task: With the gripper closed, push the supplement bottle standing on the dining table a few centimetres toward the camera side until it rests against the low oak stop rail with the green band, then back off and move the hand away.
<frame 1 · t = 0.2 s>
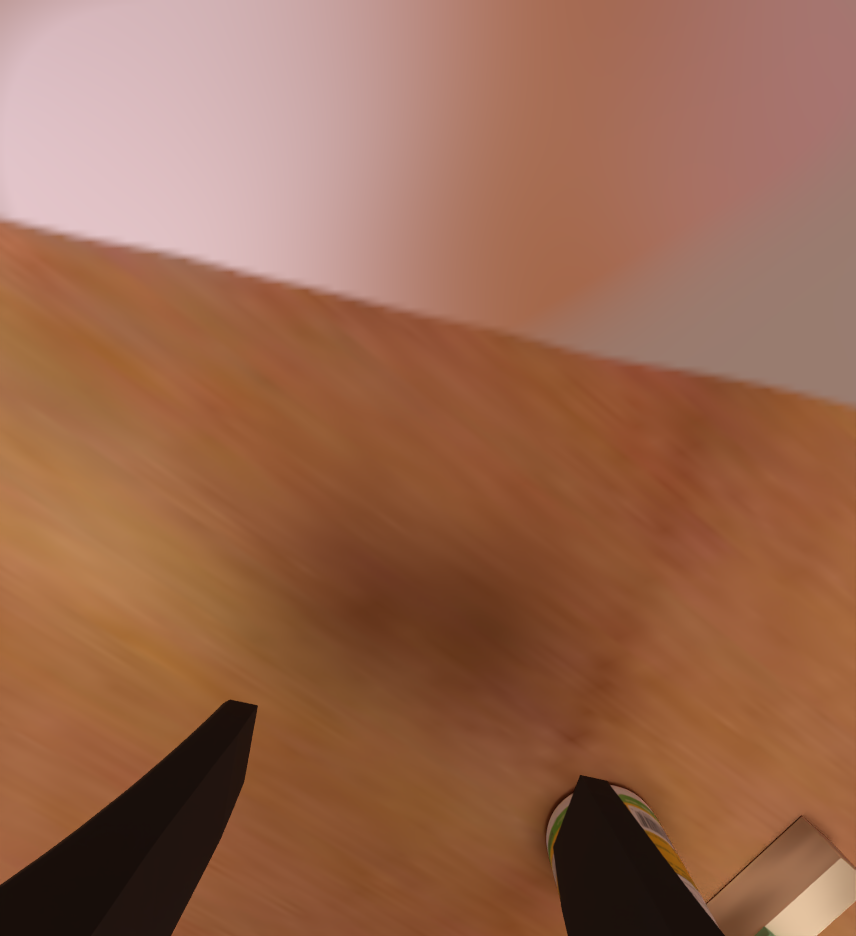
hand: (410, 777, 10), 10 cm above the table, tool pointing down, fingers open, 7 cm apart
stop rail: (711, 925, 21), on the table
supplement bottle: (598, 827, 21), on the table
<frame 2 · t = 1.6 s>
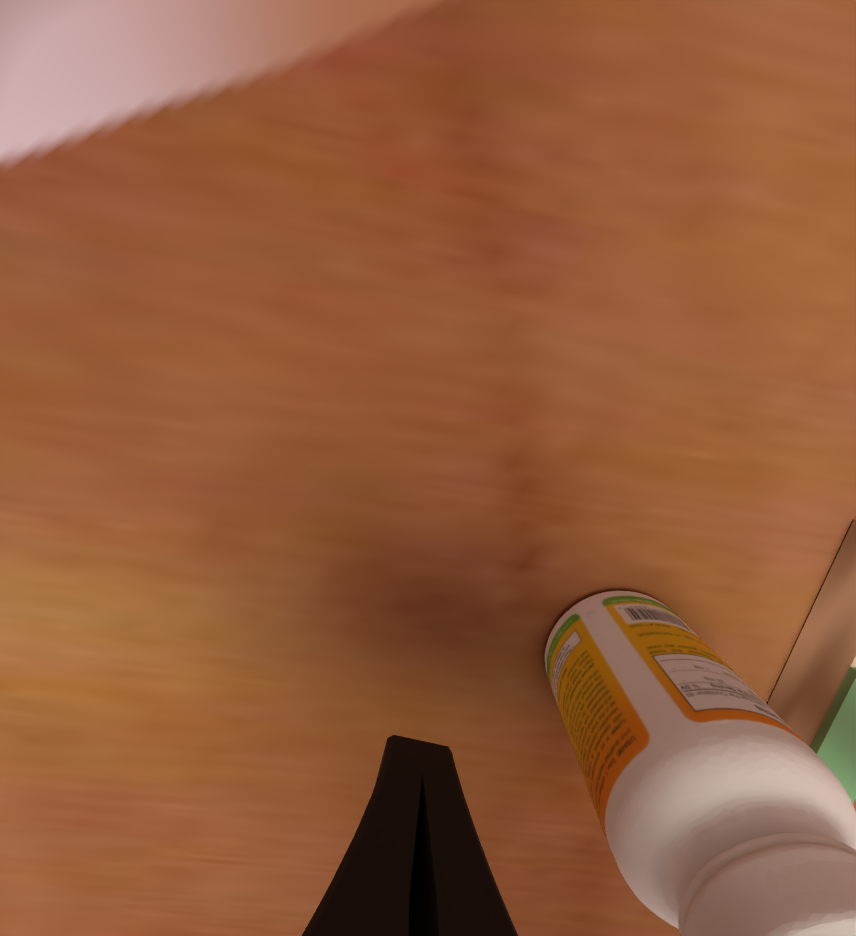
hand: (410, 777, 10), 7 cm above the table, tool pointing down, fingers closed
stop rail: (799, 693, 17), on the table
supplement bottle: (610, 647, 17), on the table
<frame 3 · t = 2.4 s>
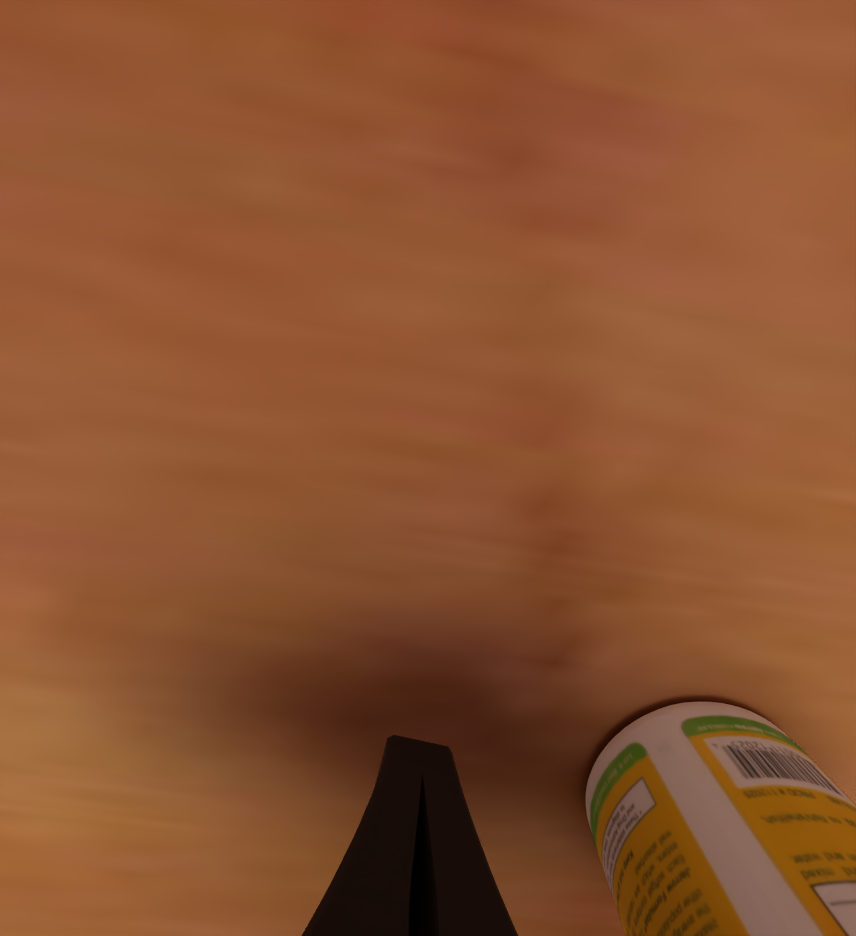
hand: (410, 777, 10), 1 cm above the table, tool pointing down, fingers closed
supplement bottle: (683, 778, 11), on the table
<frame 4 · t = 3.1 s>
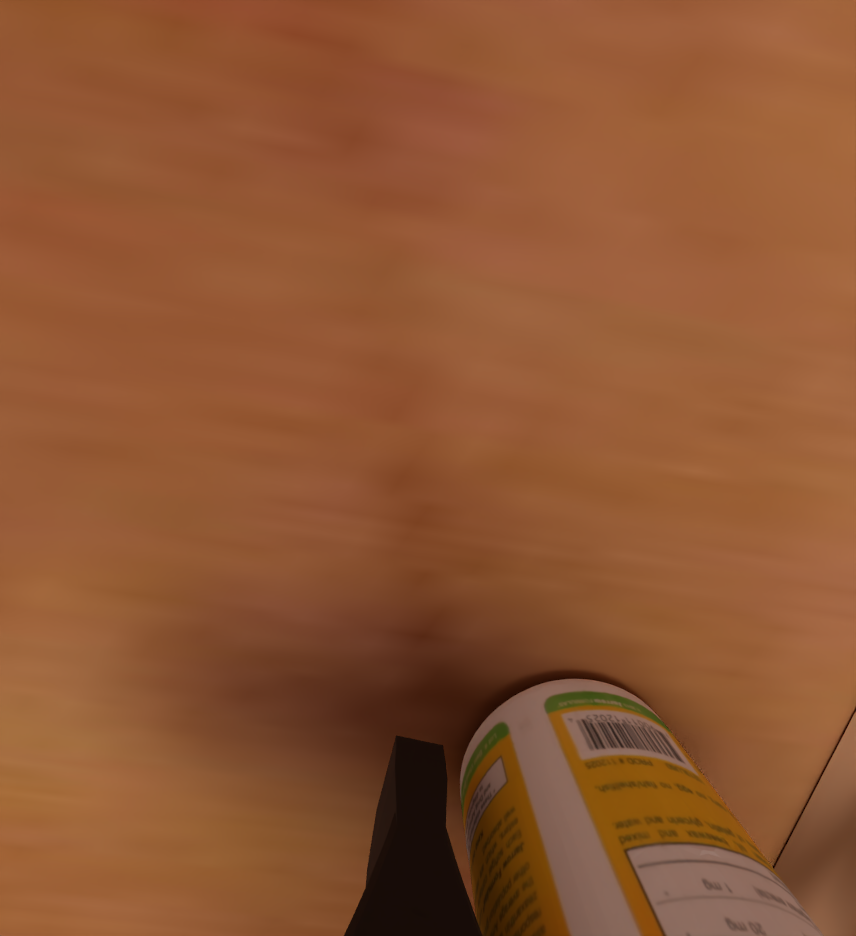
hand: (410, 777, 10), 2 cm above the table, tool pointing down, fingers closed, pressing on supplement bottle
stop rail: (837, 823, 11), on the table
supplement bottle: (560, 758, 11), on the table, touching gripper
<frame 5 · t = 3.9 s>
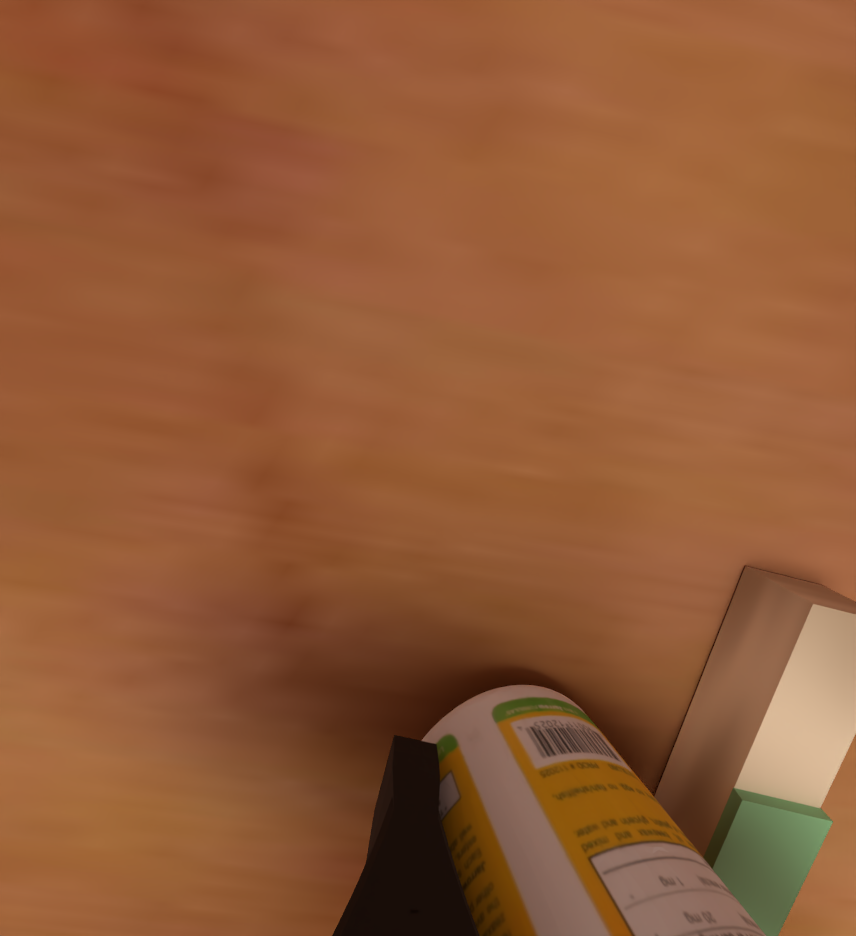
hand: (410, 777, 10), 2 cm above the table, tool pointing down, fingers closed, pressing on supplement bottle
stop rail: (687, 807, 12), on the table
supplement bottle: (493, 762, 11), on the table, touching gripper
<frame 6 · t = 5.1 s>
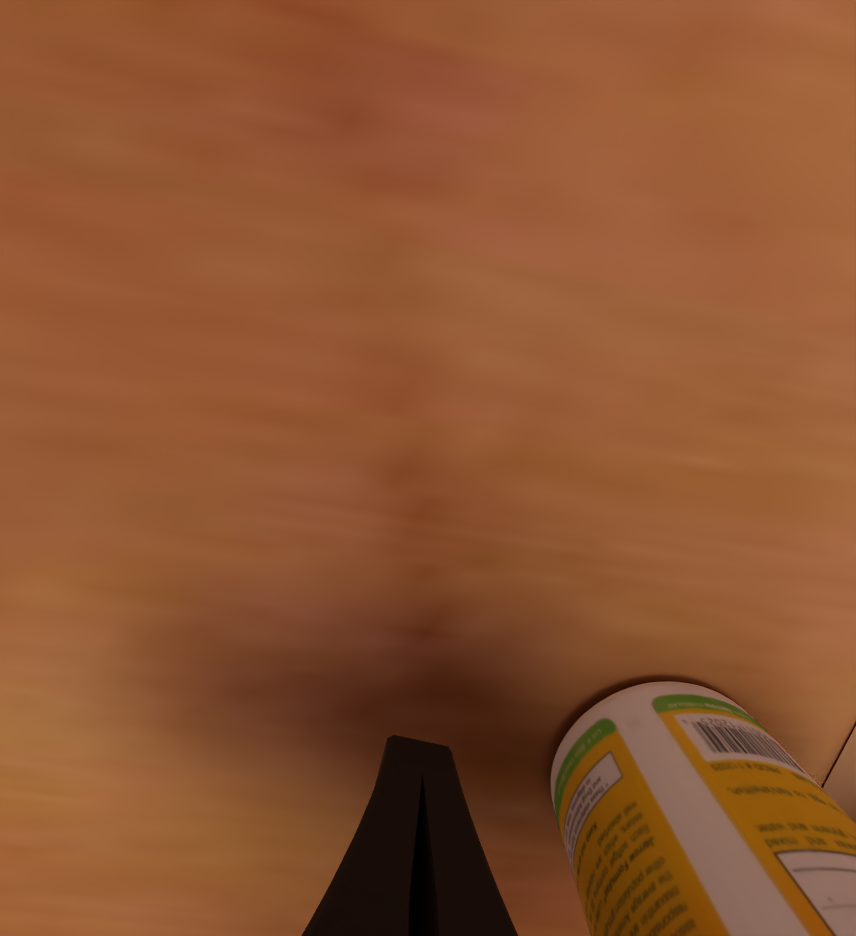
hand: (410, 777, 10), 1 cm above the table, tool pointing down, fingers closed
stop rail: (847, 818, 11), on the table
supplement bottle: (648, 760, 11), on the table
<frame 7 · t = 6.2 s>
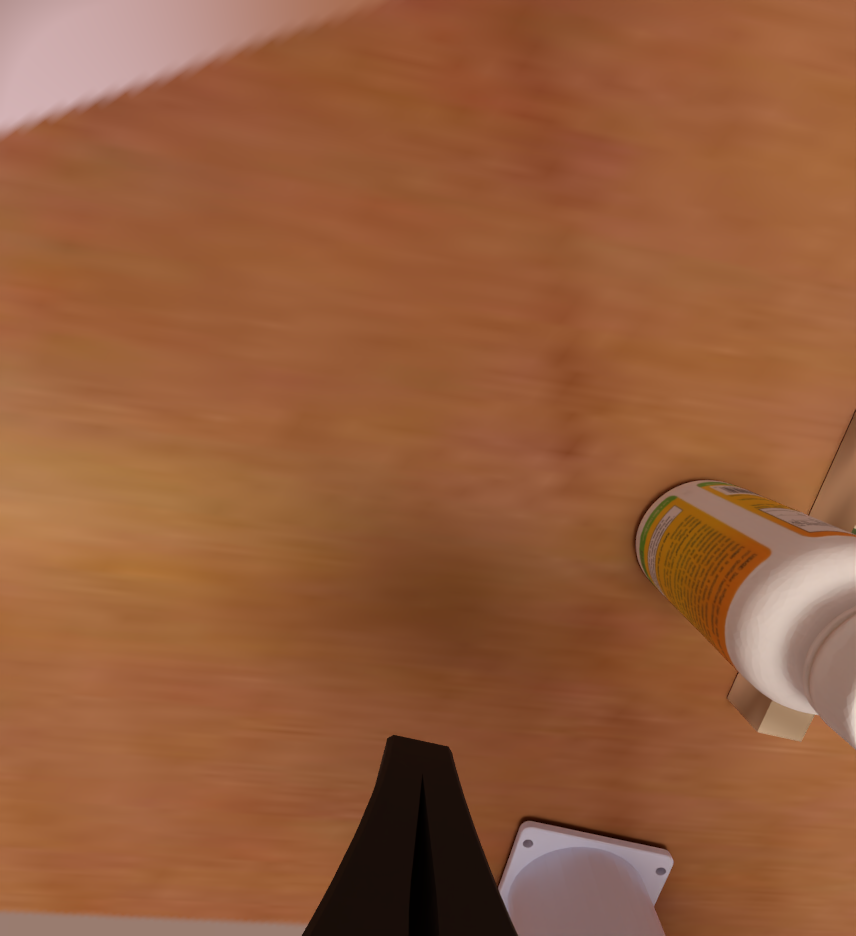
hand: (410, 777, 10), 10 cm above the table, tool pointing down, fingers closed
stop rail: (808, 569, 19), on the table
supplement bottle: (692, 535, 19), on the table
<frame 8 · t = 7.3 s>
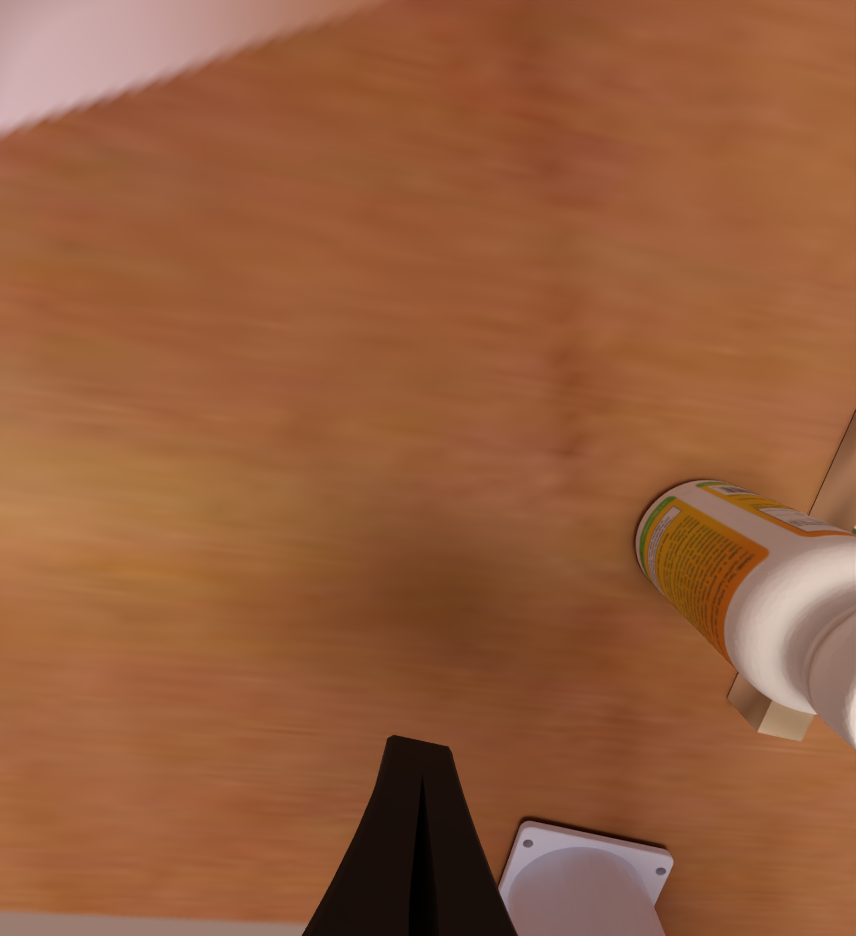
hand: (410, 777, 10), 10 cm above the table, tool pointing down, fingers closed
stop rail: (808, 569, 19), on the table
supplement bottle: (692, 535, 19), on the table
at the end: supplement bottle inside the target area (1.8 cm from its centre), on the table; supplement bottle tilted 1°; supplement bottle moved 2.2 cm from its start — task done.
